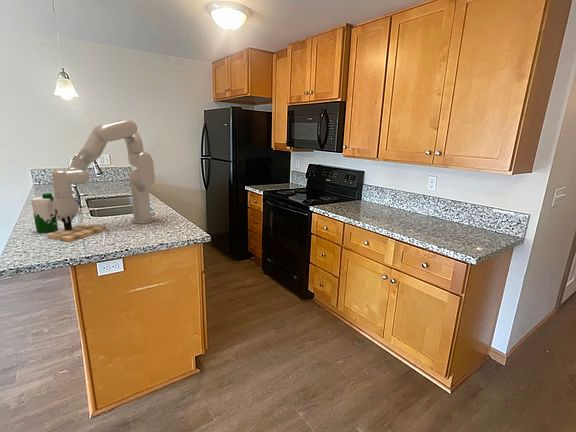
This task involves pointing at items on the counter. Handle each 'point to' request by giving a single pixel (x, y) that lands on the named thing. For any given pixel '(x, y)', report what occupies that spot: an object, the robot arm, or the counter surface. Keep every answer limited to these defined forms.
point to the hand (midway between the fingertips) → (68, 229)
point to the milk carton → (44, 214)
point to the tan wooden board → (67, 231)
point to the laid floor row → (82, 233)
